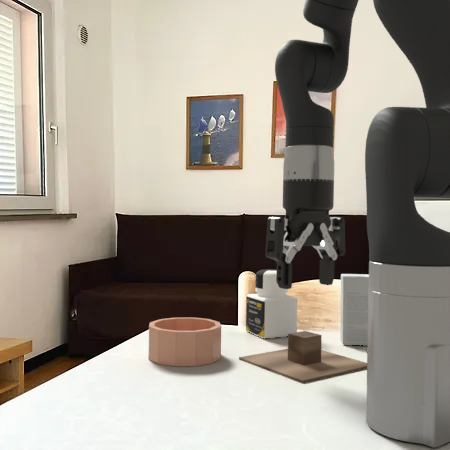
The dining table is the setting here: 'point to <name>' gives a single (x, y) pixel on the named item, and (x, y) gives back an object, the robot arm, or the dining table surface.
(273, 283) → the medicine bottle
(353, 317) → the skincare box
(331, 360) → the walnut lid
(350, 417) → the dining table surface
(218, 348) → the terracotta bowl
